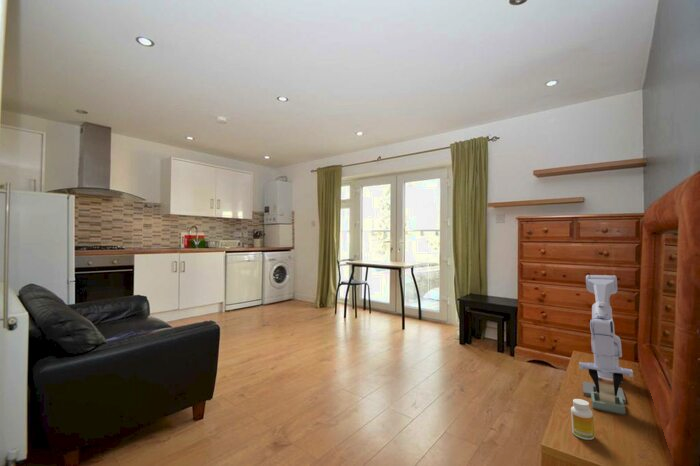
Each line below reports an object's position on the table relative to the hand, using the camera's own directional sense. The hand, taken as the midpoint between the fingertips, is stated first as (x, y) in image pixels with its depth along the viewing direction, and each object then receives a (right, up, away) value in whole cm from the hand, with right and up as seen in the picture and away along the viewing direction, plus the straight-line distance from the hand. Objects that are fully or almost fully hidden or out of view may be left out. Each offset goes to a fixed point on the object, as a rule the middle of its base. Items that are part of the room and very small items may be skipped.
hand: (606, 393), depth 110 cm
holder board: (+6, -5, +9) cm, 11 cm away
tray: (0, -4, 0) cm, 4 cm away
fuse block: (0, -3, 0) cm, 3 cm away
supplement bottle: (-19, -5, -15) cm, 25 cm away
